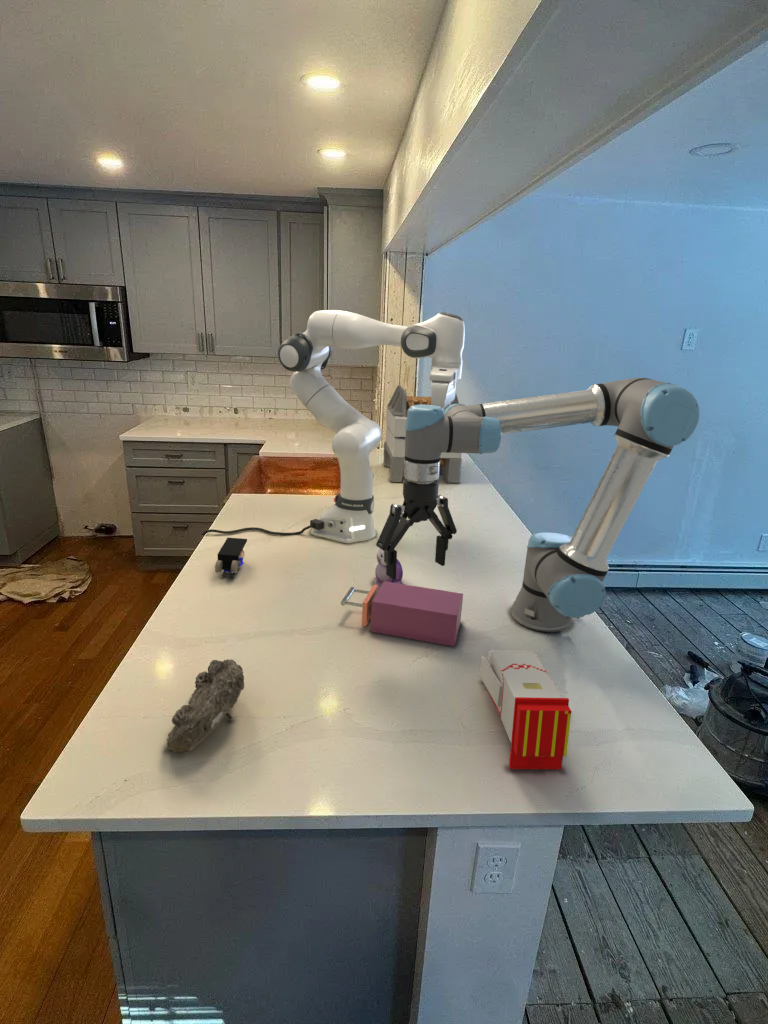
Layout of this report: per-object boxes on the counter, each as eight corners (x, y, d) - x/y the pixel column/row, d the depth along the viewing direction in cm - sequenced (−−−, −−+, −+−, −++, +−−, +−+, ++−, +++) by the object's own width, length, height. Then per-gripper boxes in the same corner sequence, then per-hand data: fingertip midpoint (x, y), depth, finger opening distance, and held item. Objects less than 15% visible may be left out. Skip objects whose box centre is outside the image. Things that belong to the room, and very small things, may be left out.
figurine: (381, 594, 157) (383, 544, 152) (365, 579, 165) (367, 531, 160) (411, 588, 161) (414, 539, 156) (393, 573, 169) (396, 527, 164)
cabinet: (370, 631, 139) (371, 601, 136) (382, 609, 149) (383, 581, 146) (454, 646, 134) (457, 615, 131) (460, 622, 145) (463, 593, 142)
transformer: (382, 463, 289) (386, 382, 275) (445, 464, 293) (451, 384, 279) (390, 482, 257) (394, 392, 243) (460, 483, 261) (468, 394, 247)
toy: (530, 632, 124) (581, 706, 94) (525, 688, 126) (573, 777, 97) (475, 631, 123) (509, 705, 94) (471, 687, 126) (503, 777, 96)
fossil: (192, 660, 117) (244, 628, 112) (224, 691, 120) (276, 661, 115) (142, 746, 98) (202, 712, 93) (182, 779, 101) (242, 748, 96)
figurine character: (238, 584, 162) (249, 557, 175) (236, 562, 158) (247, 536, 172) (215, 584, 161) (227, 556, 175) (212, 561, 158) (225, 535, 171)
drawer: (338, 621, 141) (339, 598, 139) (351, 602, 150) (351, 580, 148) (438, 638, 135) (440, 615, 133) (445, 618, 145) (447, 595, 142)
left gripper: (441, 368, 174) (438, 413, 179) (428, 374, 156) (425, 424, 161) (462, 369, 173) (458, 415, 178) (451, 376, 154) (447, 426, 159)
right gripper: (381, 492, 111) (378, 589, 118) (477, 476, 124) (469, 564, 131) (361, 482, 116) (359, 575, 124) (455, 467, 130) (448, 552, 137)
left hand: (442, 419), depth 169 cm, fingers open, 8 cm apart
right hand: (416, 570), depth 127 cm, fingers open, 13 cm apart
